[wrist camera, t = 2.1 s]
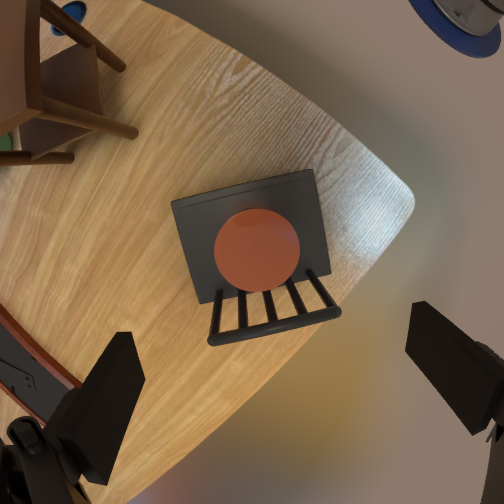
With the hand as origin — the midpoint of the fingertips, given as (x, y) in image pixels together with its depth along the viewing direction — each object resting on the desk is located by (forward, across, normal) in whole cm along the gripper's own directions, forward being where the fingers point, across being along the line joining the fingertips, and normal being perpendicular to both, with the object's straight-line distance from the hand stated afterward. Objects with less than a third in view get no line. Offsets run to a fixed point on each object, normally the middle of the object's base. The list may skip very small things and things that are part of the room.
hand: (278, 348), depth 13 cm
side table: (+27, -20, +18) cm, 38 cm away
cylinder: (+26, 0, 0) cm, 26 cm away
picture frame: (+27, -46, -23) cm, 58 cm away
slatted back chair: (+27, 0, -1) cm, 27 cm away
